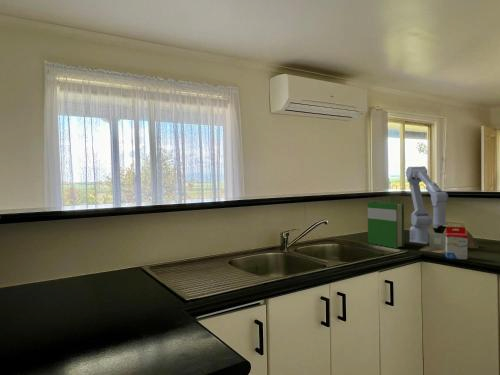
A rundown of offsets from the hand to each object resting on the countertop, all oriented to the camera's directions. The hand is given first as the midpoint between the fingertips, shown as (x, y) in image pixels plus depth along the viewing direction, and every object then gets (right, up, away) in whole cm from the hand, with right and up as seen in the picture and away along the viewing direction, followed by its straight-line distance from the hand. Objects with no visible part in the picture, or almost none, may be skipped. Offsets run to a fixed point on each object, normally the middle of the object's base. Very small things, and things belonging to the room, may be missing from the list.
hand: (439, 239), depth 189 cm
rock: (+15, -4, +1) cm, 15 cm away
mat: (-4, -5, -4) cm, 7 cm away
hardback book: (-25, -5, +10) cm, 27 cm away
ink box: (-3, -6, -21) cm, 22 cm away
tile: (-1, -4, -1) cm, 5 cm away
